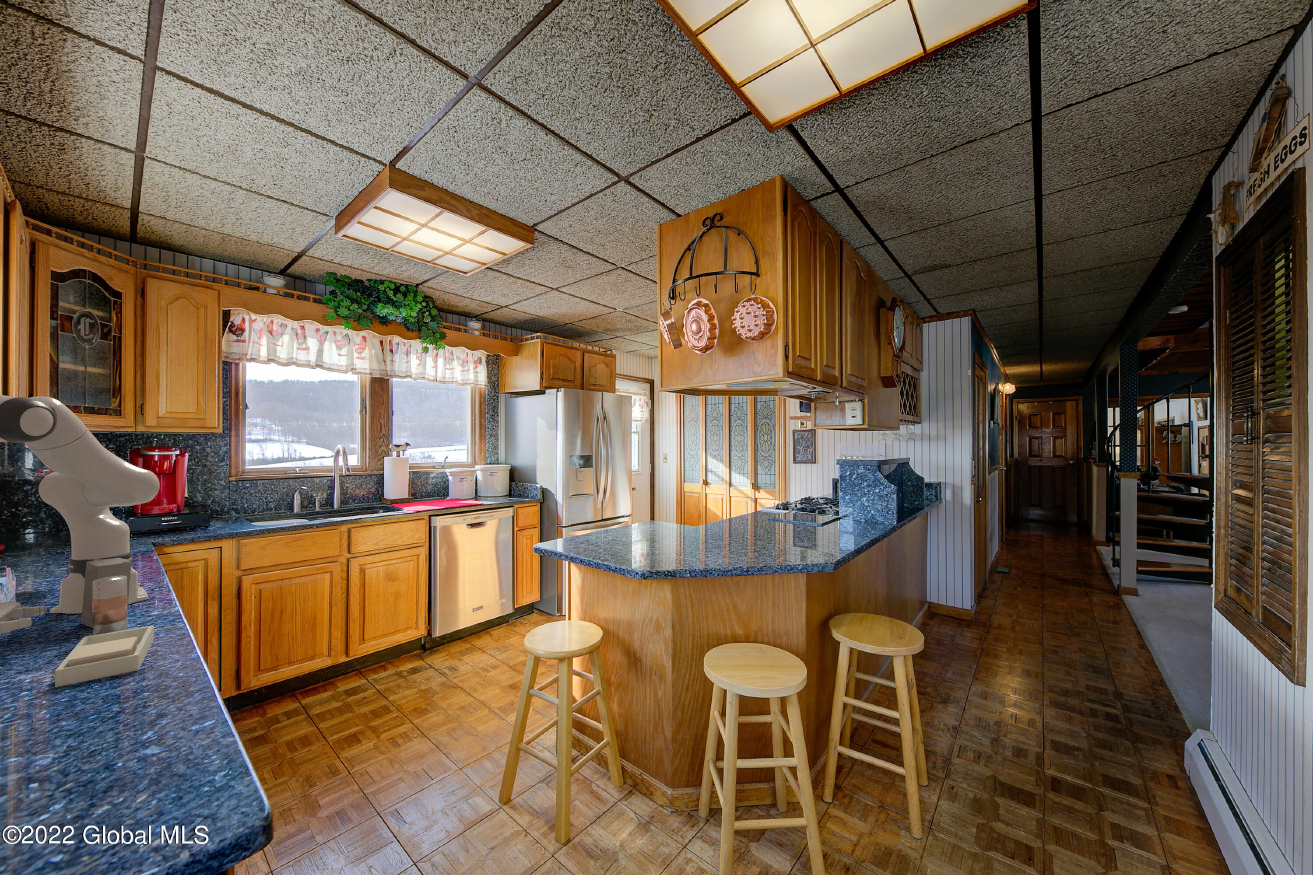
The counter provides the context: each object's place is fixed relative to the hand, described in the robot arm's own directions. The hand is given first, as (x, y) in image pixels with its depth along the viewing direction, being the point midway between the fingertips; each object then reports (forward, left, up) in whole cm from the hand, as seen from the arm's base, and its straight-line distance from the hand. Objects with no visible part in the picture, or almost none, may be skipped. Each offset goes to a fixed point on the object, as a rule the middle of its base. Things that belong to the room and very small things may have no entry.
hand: (39, 615), depth 112 cm
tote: (+21, +14, -8) cm, 26 cm away
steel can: (0, +11, -8) cm, 13 cm away
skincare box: (-16, +8, -8) cm, 19 cm away
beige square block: (+26, +14, -7) cm, 30 cm away
